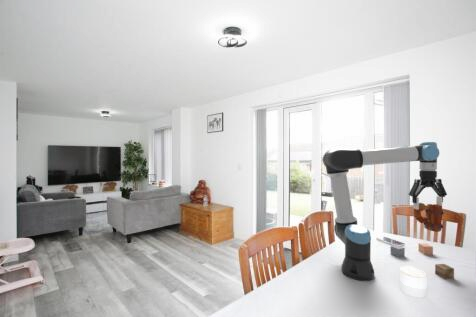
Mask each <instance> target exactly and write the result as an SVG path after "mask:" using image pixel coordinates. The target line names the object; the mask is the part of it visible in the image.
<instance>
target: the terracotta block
mask: <svg viewBox="0 0 476 317" xmlns="http://www.w3.org/2000/svg"><path fill="white" fill-rule="evenodd" d="M418 252H419V253H420V254H422V255H428V256H430V255H431V256H433V255H434V246H433V245H431V244H429V243H426V242H425V243H424V242H421V243H420V242H419V243H418Z"/></svg>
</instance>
